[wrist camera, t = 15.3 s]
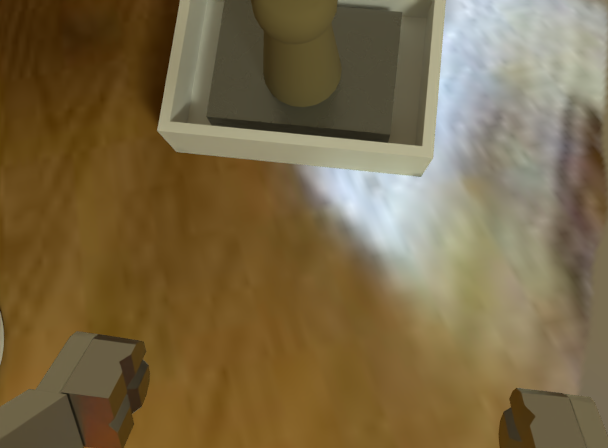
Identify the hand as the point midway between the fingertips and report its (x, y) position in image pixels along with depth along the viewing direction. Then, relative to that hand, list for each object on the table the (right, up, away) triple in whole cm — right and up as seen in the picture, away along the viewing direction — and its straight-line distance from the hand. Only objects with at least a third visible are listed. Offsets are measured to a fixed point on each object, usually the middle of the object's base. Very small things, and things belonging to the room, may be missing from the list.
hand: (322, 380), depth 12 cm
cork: (-1, +15, +29) cm, 33 cm away
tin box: (0, +15, +32) cm, 35 cm away
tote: (0, +15, +33) cm, 36 cm away
